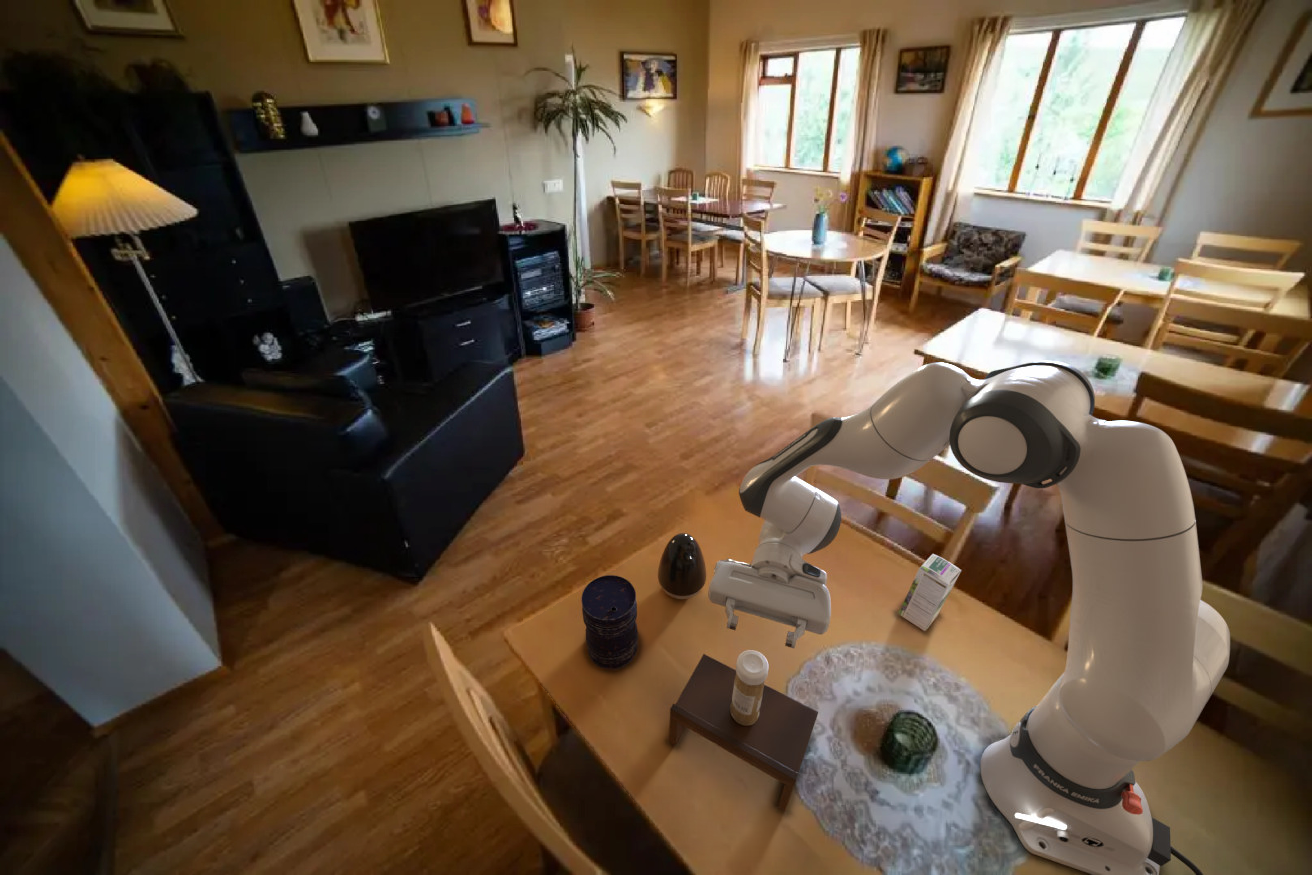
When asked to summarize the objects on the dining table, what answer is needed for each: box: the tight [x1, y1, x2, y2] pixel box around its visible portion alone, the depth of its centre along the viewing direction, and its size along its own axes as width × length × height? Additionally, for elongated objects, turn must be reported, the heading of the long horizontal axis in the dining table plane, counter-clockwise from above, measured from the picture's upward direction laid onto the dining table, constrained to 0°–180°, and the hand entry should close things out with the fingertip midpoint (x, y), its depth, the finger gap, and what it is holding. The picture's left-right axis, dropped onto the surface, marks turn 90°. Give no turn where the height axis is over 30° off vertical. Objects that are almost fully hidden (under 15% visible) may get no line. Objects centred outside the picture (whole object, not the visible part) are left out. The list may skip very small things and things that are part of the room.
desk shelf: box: [669, 653, 819, 812], centre depth 85 cm, size 20×12×11 cm, turn 60°
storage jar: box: [581, 574, 639, 670], centre depth 98 cm, size 10×10×15 cm
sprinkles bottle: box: [730, 649, 770, 726], centre depth 79 cm, size 5×5×14 cm
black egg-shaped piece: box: [657, 532, 707, 600], centre depth 110 cm, size 10×10×15 cm
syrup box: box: [898, 553, 962, 632], centre depth 104 cm, size 6×6×14 cm
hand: (760, 636), depth 84 cm, fingers open, 8 cm apart
